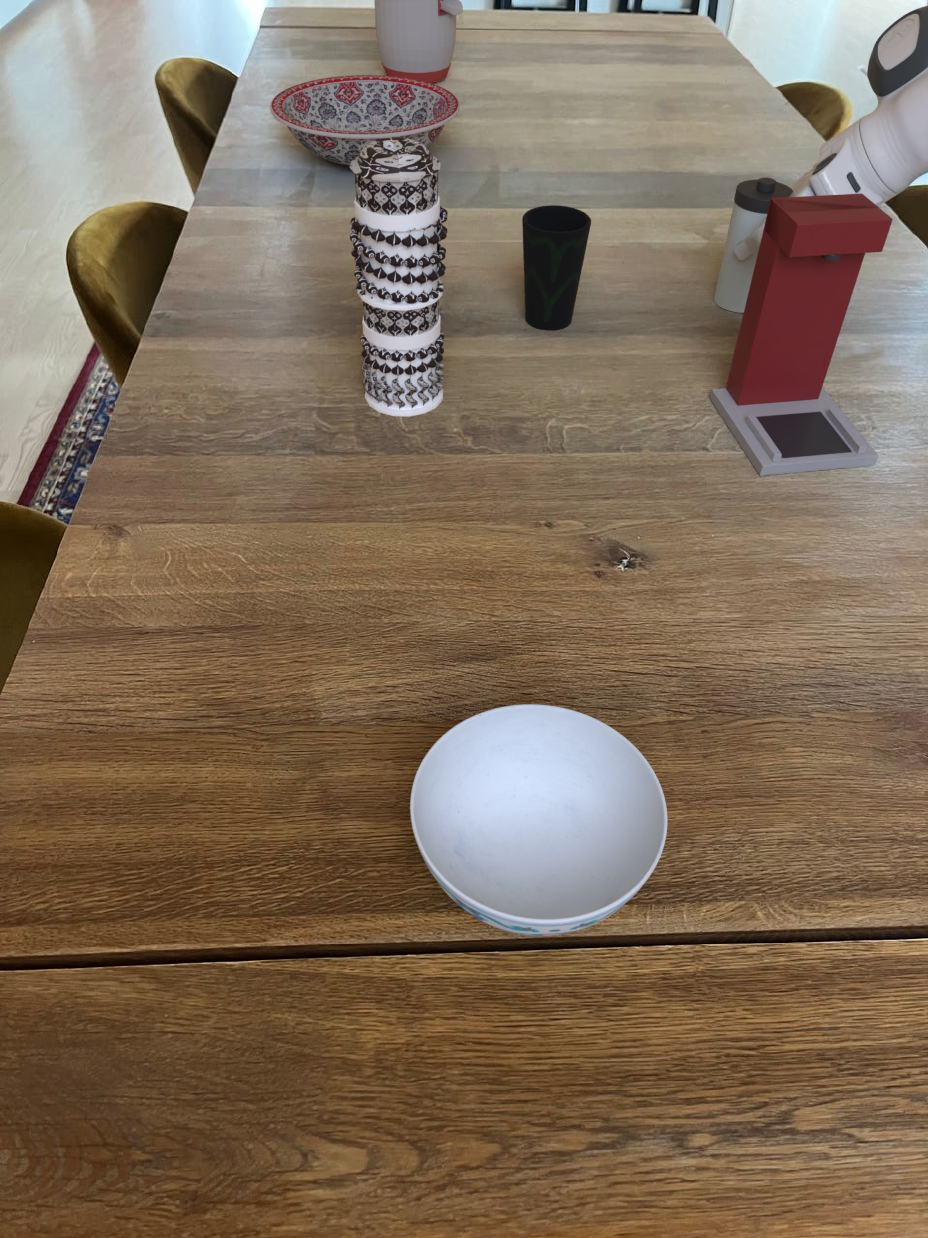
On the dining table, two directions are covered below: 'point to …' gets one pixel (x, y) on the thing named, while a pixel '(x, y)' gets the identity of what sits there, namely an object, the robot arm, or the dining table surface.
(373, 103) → the ceramic bowl
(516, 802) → the chinaware
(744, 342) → the coffee machine
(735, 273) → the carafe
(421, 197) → the stacked patterned cylinder
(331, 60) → the dining table surface
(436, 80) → the citrus juicer
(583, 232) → the cup
